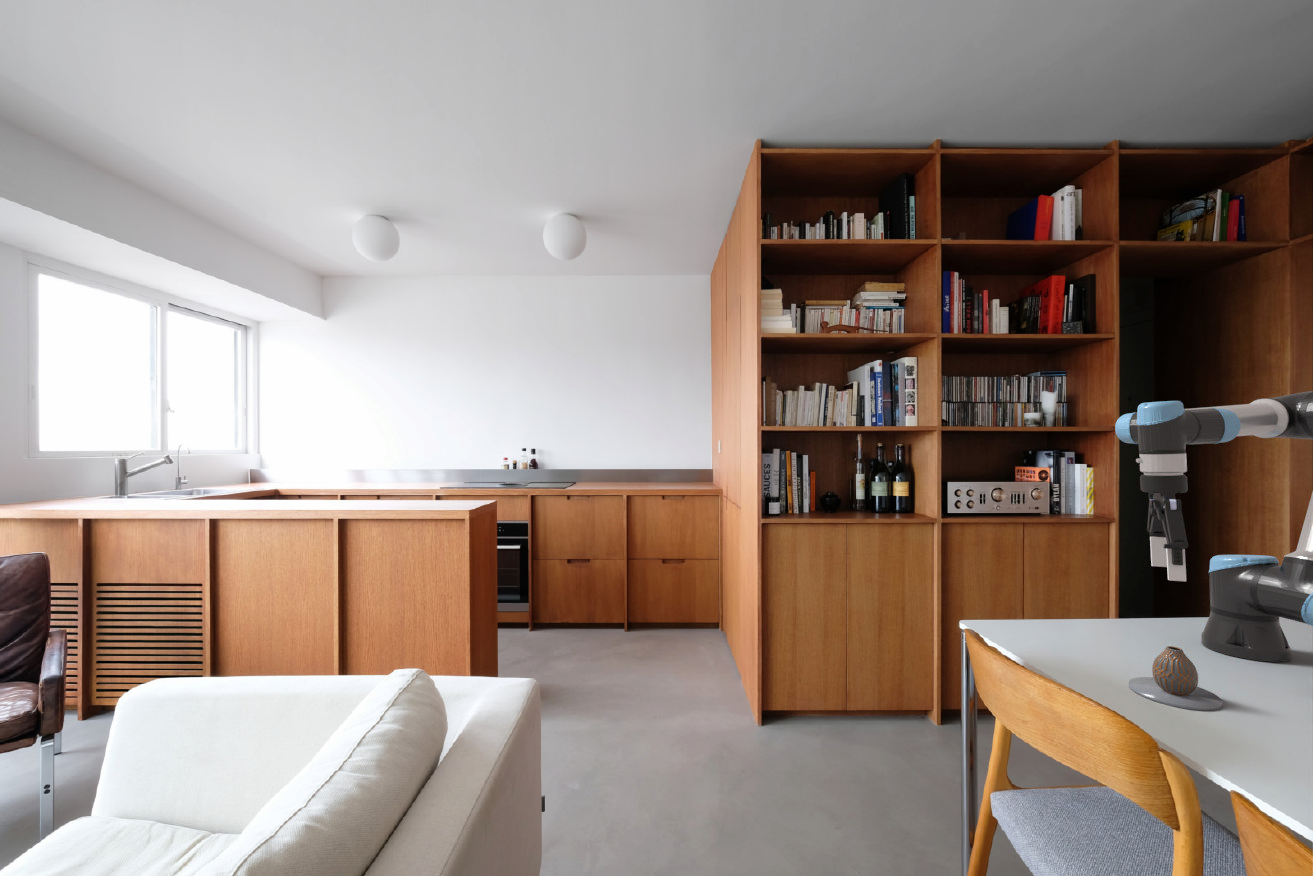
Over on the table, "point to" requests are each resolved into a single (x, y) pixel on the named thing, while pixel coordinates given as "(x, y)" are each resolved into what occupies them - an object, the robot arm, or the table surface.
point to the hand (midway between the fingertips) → (1167, 573)
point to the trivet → (1193, 701)
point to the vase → (1175, 672)
